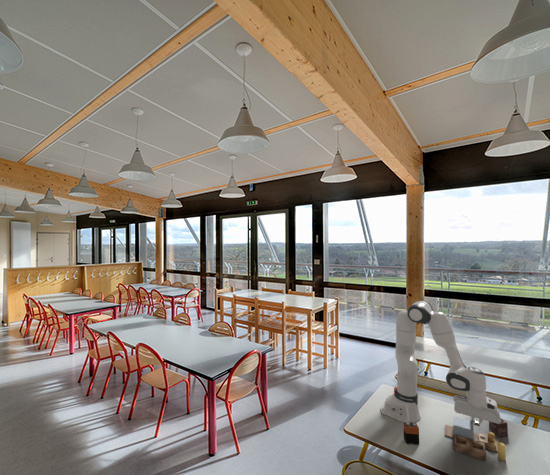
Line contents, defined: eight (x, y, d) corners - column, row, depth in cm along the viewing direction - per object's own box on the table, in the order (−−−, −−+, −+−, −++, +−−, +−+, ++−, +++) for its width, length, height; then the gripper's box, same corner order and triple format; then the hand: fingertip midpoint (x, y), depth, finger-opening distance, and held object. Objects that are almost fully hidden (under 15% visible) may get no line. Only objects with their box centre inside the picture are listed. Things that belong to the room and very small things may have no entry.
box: (499, 429, 159) (498, 416, 159) (508, 436, 153) (507, 423, 153) (488, 429, 159) (488, 416, 159) (497, 437, 153) (497, 423, 153)
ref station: (444, 436, 154) (444, 425, 154) (445, 425, 163) (445, 415, 163) (500, 453, 142) (500, 441, 142) (497, 441, 150) (497, 430, 150)
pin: (498, 459, 138) (497, 445, 138) (497, 455, 140) (497, 441, 140) (506, 461, 136) (505, 447, 136) (505, 457, 139) (504, 443, 139)
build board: (454, 450, 144) (454, 444, 144) (454, 439, 152) (454, 434, 152) (486, 460, 137) (486, 454, 137) (484, 449, 145) (484, 443, 145)
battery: (403, 438, 153) (403, 419, 153) (416, 439, 152) (416, 420, 152) (405, 444, 149) (405, 425, 149) (419, 445, 148) (419, 426, 148)
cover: (453, 436, 153) (453, 419, 153) (453, 426, 160) (453, 410, 160) (473, 442, 148) (473, 425, 148) (472, 432, 155) (472, 415, 156)
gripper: (453, 396, 154) (453, 422, 154) (501, 408, 143) (501, 435, 143) (453, 391, 159) (453, 415, 159) (499, 402, 148) (499, 428, 148)
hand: (476, 425), depth 151 cm, fingers closed
